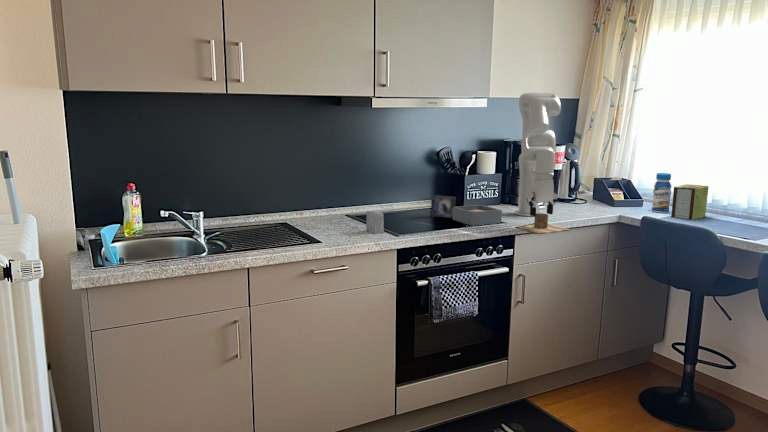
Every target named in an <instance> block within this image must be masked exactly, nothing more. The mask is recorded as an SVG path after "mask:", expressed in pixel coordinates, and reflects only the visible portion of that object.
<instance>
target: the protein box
mask: <svg viewBox="0 0 768 432" xmlns="http://www.w3.org/2000/svg"><path fill="white" fill-rule="evenodd" d="M709 188H710V187H709V185H699V184H691V183H689V184H688V183H686V184H681V185H676V186H673V192H672V193H673V195H672V205H671V216H670V218H674V219H675V218H676V219H682V220H687V221H688V220H690V221H694V220H698V219H702V218H705V217H706V212H707V203H708V194H709Z"/></svg>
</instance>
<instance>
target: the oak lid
mask: <svg viewBox="0 0 768 432" xmlns="http://www.w3.org/2000/svg"><path fill="white" fill-rule="evenodd" d="M514 228H515V229H518V230H522V231H526V232H528V233H533V234H535V235H544V234H553V233H554V234H555V233H561V232H563V233H565V232H570V231H571V229H570V228H567V227H562V226H559V225H555V224H550V223H549V214H547V213H544V212H540V213H537V214H536V216H534V223H527V224H524V225H520V226H514Z"/></svg>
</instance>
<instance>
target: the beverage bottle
mask: <svg viewBox="0 0 768 432" xmlns="http://www.w3.org/2000/svg"><path fill="white" fill-rule="evenodd" d="M671 178H672V175H671V173H668V172H657V173H656V178H655V179H656V182H655V183H654V185H653V191H652V193H653V195H652V196H653V197H652V205H651V206H652V207H651V211H652V212H654V213H658V214H659V213H660V214H667V213H669V212H670V201H671V194H672V190H671V189H672V184H671V182H670V181H671Z"/></svg>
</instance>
